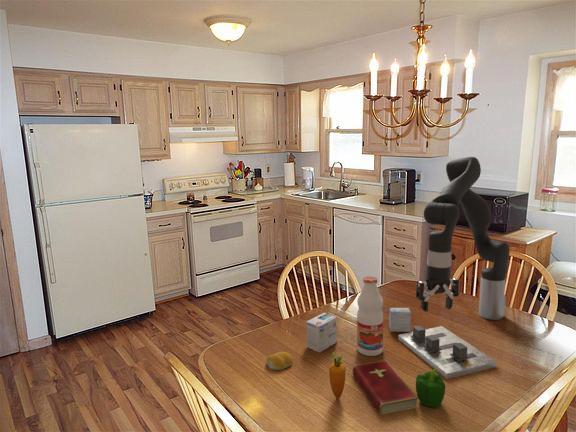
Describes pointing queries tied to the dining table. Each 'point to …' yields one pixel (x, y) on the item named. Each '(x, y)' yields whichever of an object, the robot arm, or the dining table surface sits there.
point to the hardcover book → (384, 387)
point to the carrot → (337, 376)
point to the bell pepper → (430, 388)
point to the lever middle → (432, 343)
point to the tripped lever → (459, 352)
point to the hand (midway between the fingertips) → (436, 309)
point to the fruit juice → (370, 319)
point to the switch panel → (448, 354)
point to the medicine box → (399, 319)
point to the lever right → (418, 333)
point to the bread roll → (279, 361)
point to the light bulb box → (321, 332)
